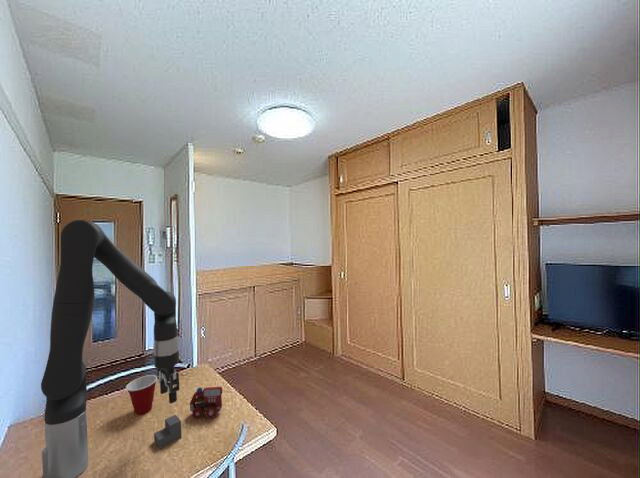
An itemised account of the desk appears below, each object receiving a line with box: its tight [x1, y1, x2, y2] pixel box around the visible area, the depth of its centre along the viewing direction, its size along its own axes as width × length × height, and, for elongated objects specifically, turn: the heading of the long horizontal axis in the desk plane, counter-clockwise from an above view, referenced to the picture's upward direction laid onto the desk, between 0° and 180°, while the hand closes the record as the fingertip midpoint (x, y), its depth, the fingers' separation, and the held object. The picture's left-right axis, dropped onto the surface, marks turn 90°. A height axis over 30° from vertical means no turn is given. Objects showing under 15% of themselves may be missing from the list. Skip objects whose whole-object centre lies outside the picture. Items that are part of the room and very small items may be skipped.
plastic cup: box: [125, 374, 158, 416], centre depth 114 cm, size 11×11×12 cm
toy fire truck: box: [189, 386, 223, 420], centre depth 111 cm, size 7×12×10 cm, turn 90°
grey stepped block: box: [153, 414, 182, 450], centre depth 97 cm, size 7×5×6 cm
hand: (168, 397), depth 98 cm, fingers open, 8 cm apart
